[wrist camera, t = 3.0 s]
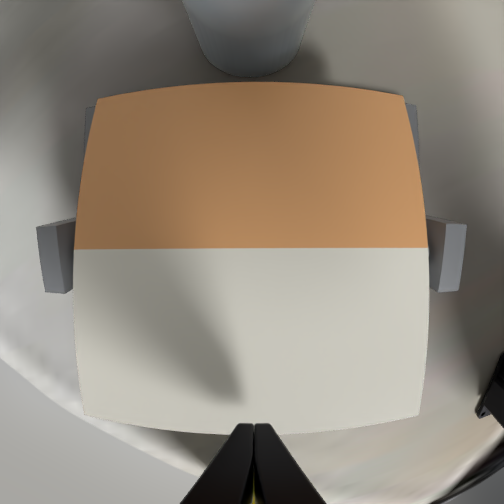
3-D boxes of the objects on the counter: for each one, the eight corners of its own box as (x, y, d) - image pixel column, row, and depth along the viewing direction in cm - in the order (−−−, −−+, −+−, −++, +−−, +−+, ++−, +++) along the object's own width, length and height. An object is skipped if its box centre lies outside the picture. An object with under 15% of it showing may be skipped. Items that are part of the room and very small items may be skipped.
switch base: (407, 109, 13) (470, 82, 7) (391, 346, 15) (435, 403, 10) (95, 112, 13) (31, 86, 7) (113, 346, 16) (69, 403, 10)
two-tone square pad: (398, 122, 11) (418, 99, 9) (410, 394, 10) (435, 411, 8) (103, 125, 11) (82, 102, 9) (93, 394, 10) (68, 410, 8)
